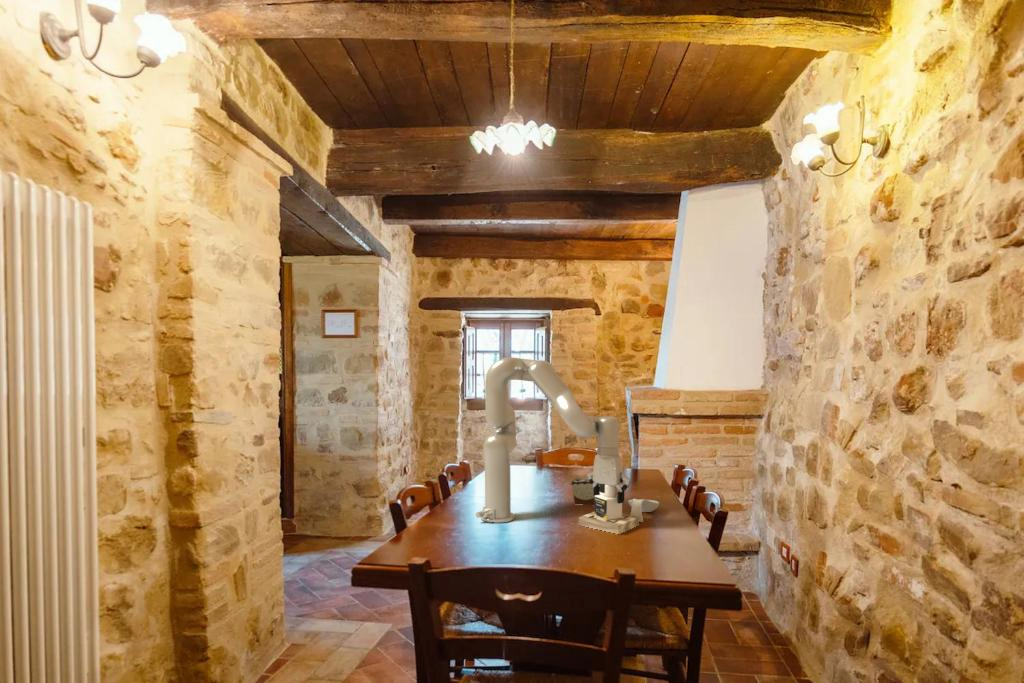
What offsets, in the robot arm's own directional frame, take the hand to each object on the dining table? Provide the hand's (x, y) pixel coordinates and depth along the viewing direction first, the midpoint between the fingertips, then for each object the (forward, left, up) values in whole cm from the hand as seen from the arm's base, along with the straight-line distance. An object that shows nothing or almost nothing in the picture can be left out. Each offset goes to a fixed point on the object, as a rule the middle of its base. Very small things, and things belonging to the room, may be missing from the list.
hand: (608, 500), depth 194 cm
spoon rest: (+21, -1, -9) cm, 23 cm away
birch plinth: (0, 0, -9) cm, 9 cm away
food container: (+21, +24, -9) cm, 33 cm away
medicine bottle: (0, 0, -6) cm, 6 cm away
